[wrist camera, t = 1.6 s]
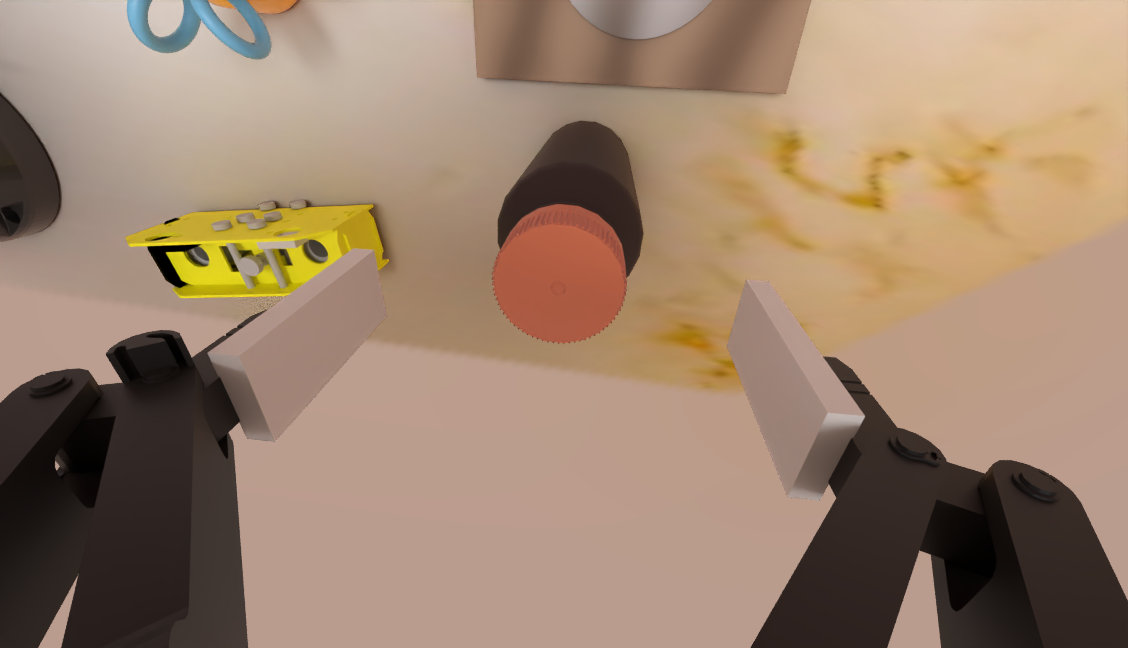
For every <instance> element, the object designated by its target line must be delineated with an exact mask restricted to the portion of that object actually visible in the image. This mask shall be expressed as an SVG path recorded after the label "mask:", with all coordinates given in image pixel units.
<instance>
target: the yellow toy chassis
mask: <svg viewBox="0 0 1128 648" xmlns="http://www.w3.org/2000/svg"><path fill="white" fill-rule="evenodd" d="M289 204H290V207H291V208H281V209H274V208H276V205H275V203H274V202H264V203H261V204H258V206H259V209H258V210H236V211H213V212H192V213H190V214H187V215H184V216H181V217H179V218H174V219H171V220H169V221H166V222H165V223H162V224H159V225H157V226H154V227H151V228H149V229H146V230H143V231H140V232H138V233H135V234H132V235H129V236H127V237H125V238H126V241H127V243H128V245H129V246H130V247H135V246H147V247H148V251H149V252H150V254H151V256H152V257H153V259H154V261H155V262H156V264H157V266H158V268H159V269H160V271H161V273H162V274H163V276H164V278H165V280H166V281H168V282H169V283H171V284H173V285H174V286H176V287H174V288H172V289H173V291H174V292H175V293H176V294H177V295H178V296H179V297H180V298H214V297H262V296H288V295H289V294H290V293H292V292H293V291H295V290H296V289H297V288H299V287H300V286H302V285H303V284H304V283H306V282H307V281H309V280H310V279H311V278H313V277H314V276H316V275H317V274H318V273H320V272H321V271H322V270H324V269H325V268H327V267H328V266H329V265H331V264H332V263H334V262H335V261H336V260H338V259H339V258H341V257H342V256H343V255H345V254H346V253H348V252H349V251H350V250H352V249H353V248H357V249H369V250H374V252H375V257H376V262H377V267H378V271H379V270H380V269H382V268H383V267H384V266H385V265H386V264H387V263H388V262H389V259H382V252H384V251H383V247H382V244H381V240H380V237H379V234H378V230H377V227H376V224H375V220H374V217H372V215H371V214H370V213H369V211H368V210H370V209H371V208H373V204H371V205H348V206H326V207H306V206H307V205H306V202H305V200H298V201H293V202H290V203H289Z"/></svg>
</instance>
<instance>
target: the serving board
mask: <svg viewBox="0 0 1128 648" xmlns="http://www.w3.org/2000/svg"><path fill="white" fill-rule="evenodd" d="M810 3H811V0H473V8H474V27H475V46H476V65H477V77H481V78H500V79H519V80H537V81H556V82H575V83H594V84H612V85H631V86H650V87H669V88H687V89H706V90H725V91H743V92H762V93H781V94H786V91H787V87H788V83H789V80H790V76H791V72H792V69H793V65H794V61H795V58H796V54H797V50H798V47H799V43H800V39H801V36H802V32H803V28H804V25H805V21H806V17H807V14H808V10H809V6H810Z"/></svg>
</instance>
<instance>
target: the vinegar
mask: <svg viewBox="0 0 1128 648" xmlns="http://www.w3.org/2000/svg"><path fill="white" fill-rule="evenodd" d="M642 239H643V228H642V221H641V215H640V209H639V204H638V200H637V195H636V190H635V186H634V181H633V176H632V172H631V167H630V162H629V158H628V153H627V151H626V149H625V147H624V145H623V143H622V141H621V139H620V138H619V137H618V136H617V135H616V134H615V133H614V132H612V131H611V130H610V129H609V128H607V127H605V126H603V125H601V124H598V123H596V122H587V121H579V122H575V123H571V124H567V125H565V126H563V127H562V128H560V129H559V130H557V131H556V132H554V133H553V134H552V136H551V137H550V138H549V140H548V141H547V142H546V143H545V145H544V146H543V147H542V149H541V150H540V151H539V153H538V154H537V156H536V157H535V158H534V160H533V161H532V162H531V164H530V165H529V166H528V168H527V169H526V170H525V172H524V173H523V174H522V176H521V177H520V178H519V180H518V181H517V182H516V184H515V185H514V186H513V188H512V189H511V190H510V192H509V193H508V194H507V196H506V197H505V200H504V203H503V206H502V209H501V212H500V215H499V218H498V244H499V247H500V251H499V253H498V256H497V258H496V261H495V263H494V264H495V266H494V267H493V269H494V271H493V273H492V275H494V276H493V278H492V280H494V281H493V283H492V285H494V288H493V290H494V291H495V293H494V295H496V296H497V298H496V300H498V302H499V303H498V305H500V307H501V308H500V310H503V311H504V312H503V314H506V315H507V317H506V318H509V319H510V322H512V323H513V324H514V326H515V325H516V326H517V327H518V329H521V330H523V331H522V332H525V333H527V335H528V334H529V335H531V336H532V337H537V339H538V338H539V339H542V341H543V340H544V341H547V342H549V341H552V342H553V343H554V342H558V344H559V342H561V343H566V342H569V343H570V342H572V341H574V343H575V341H580V340H583V339H584V340H586V338H588V337H589V338H590V337H591V336H592V335H594V336H595V334H596V333H600V331H601V330H604V327H605V326H606V327H608V324H609V323H612V320H613V319H615V315H618V310H619V311H621V306H623V301H625V299H624V296H626V290H627V289H626V285H627V281H626V278H627V277H628V276H629V275H630V273H631V271H632V269H633V267H634V265H635V264H636V262H637V260H638V258H639V256H640V250H641V244H642Z"/></svg>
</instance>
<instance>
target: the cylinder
mask: <svg viewBox="0 0 1128 648" xmlns="http://www.w3.org/2000/svg"><path fill="white" fill-rule="evenodd" d="M151 2H152V0H128V2H127V15H128V20H129V24H130V26H131V29H132V31H133V32H134V34H135V35H136V37H137V38H138V39H139V40H140V41H141V42H142V43H143V44H144V45H145V46H147V47H148V48H150V49H152V50H154V51H157V52H161V53H173V52H177V51H180V50H182V49H183V48H185V47H186V46H188V45H189V44H190V43H191V42H192V40H193V39H194V38H195V36H196V34H197V32H198V30H199V27H200V22H201V20H202V22H203V23H204V24H205V25H206V27H207V28H208V29H209V30H210V31H211V32H212V33H213V34H214V35H215V36H216V37H217V38H218V39H219V40H220V41H222V42H223V43H224V44H225V45H227V46H228V47H229V48H231V49H232V50H234V51H235V52H237V53H239V54H241V55H243V56H245V57H248V58H251V59H263V58H265V57H267V56H268V55H269V53H270V51H271V39H270V36H269V33H268V30H267V28H266V26H265V24H264V23H263V21H262V19H261V18H260V16H259V15H258V13H257V12H259V13H268V14H277V13H281V12H284V11H286V10H288V9H289V8H291V7H292V6H293V5H294V4H295V3H296V2H297V0H183V4H184V14H183V19H182V21H181V24H180V25H179V27H178V28H177V30H176V31H175V32H173V33H172V34H171V35H169V36H166V37H157V36H155V35H154V34H153V33H152V31H151V30H150V27H149V24H148V10H149V6H150V4H151ZM209 2H210V3H213V4H215V5H218V6H221V7H225V8H230V9H237V10H238V11H239V12H240V13H241V15H242V16H243V17H244V18H245V20H246V21H247V22H248V24H249V26H250V27H251V29H252V31H253V33H254V36H255V43H249V42H247V41H245V40H243V39H241V38H240V37H238V36H237V35H236V34H234V33H233V32H232V31H231V30H230V29H229V28H228V27H227V26H226V25H225V24H224V23H223V22H222V21H221V20H220V19H219V17H218V16H217V15H216V14H215V12H214V11H213V9H212V8H211V6H210V4H209Z"/></svg>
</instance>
